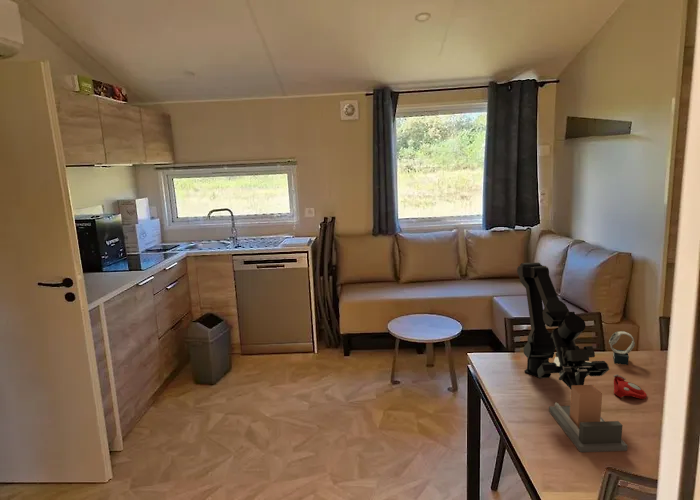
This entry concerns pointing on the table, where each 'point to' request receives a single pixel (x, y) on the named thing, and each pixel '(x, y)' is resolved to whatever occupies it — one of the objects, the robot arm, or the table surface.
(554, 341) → the robot arm
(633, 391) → the red tape dispenser
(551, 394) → the table surface
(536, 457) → the table surface
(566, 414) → the guide track
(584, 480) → the table surface
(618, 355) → the watch
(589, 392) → the brown block
